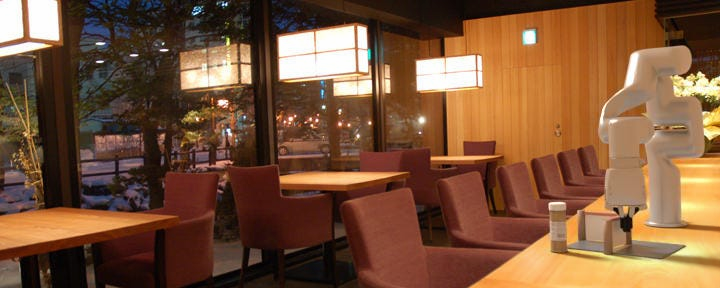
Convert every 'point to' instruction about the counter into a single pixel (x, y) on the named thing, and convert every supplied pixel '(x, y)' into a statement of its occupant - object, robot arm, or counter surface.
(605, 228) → the fence fixed
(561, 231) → the sprinkles bottle
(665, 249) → the card
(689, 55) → the robot arm
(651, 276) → the counter surface
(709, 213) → the counter surface
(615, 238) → the fence gate
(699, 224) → the counter surface
